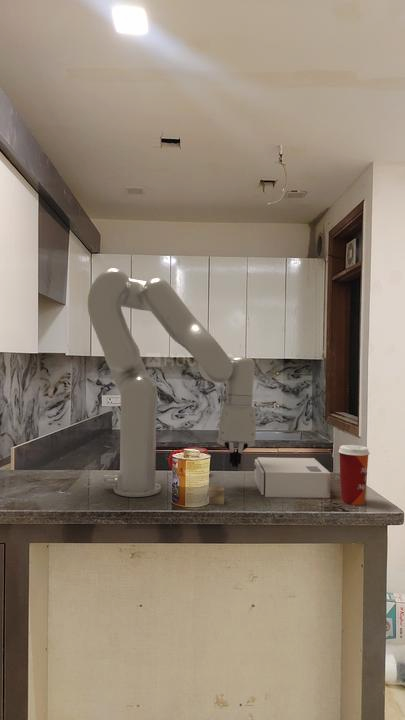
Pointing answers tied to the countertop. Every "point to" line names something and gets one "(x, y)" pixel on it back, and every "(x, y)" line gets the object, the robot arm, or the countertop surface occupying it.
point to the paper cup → (353, 473)
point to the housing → (295, 477)
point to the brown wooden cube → (216, 495)
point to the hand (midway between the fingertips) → (234, 466)
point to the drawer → (259, 477)
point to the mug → (183, 450)
